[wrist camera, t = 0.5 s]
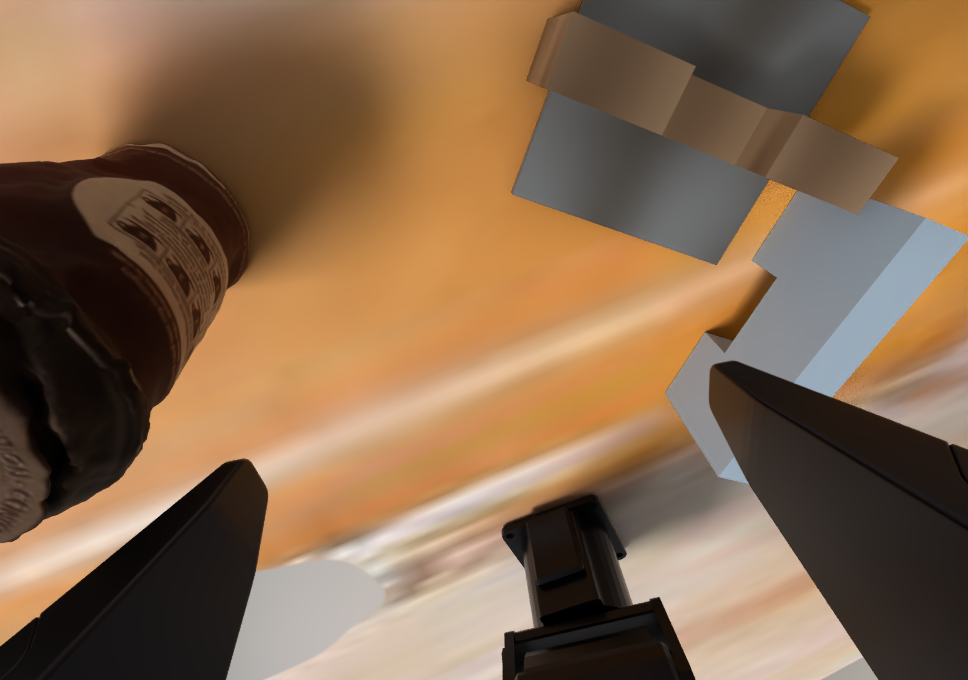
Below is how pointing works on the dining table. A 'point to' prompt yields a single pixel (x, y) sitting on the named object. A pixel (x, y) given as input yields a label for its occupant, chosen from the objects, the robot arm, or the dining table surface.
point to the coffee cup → (100, 313)
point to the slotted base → (692, 116)
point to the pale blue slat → (818, 305)
